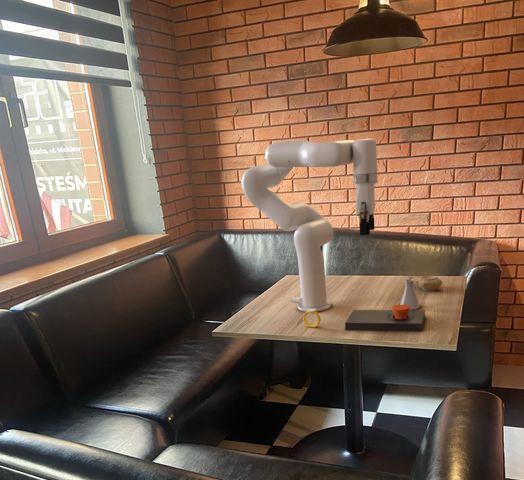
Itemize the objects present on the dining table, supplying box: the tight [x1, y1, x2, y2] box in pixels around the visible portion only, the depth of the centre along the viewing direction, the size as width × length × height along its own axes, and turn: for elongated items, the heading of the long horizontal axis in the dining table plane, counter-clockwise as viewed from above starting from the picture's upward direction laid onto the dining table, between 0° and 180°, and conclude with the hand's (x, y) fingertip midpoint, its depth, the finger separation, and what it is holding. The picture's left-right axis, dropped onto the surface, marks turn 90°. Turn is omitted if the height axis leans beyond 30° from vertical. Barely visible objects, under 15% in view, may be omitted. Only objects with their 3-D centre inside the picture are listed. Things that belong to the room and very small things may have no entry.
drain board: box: [344, 309, 426, 332], centre depth 177 cm, size 24×14×2 cm, turn 70°
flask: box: [399, 278, 421, 310], centre depth 189 cm, size 7×7×10 cm
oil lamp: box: [406, 275, 443, 292], centre depth 210 cm, size 11×14×5 cm
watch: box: [302, 309, 322, 328], centre depth 181 cm, size 6×3×6 cm, turn 57°
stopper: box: [391, 304, 410, 319], centre depth 174 cm, size 6×6×6 cm
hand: (367, 232), depth 180 cm, fingers open, 9 cm apart
